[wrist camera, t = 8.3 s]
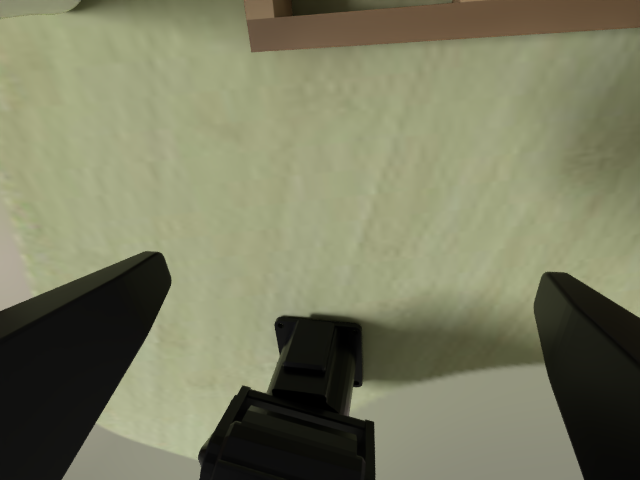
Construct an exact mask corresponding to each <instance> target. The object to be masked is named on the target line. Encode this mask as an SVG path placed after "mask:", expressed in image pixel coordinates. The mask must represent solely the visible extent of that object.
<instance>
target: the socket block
mask: <svg viewBox="0 0 640 480" xmlns="http://www.w3.org/2000/svg"><path fill="white" fill-rule="evenodd" d="M244 5H245V12H246V19H247V26H248V32H249V39H250V46H251V52H263V51H278V50H294V49H310V48H325V47H341V46H356V45H372V44H388V43H403V42H419V41H435V40H450V39H466V38H482V37H497V36H513V35H528V34H544V33H560V32H575V31H591V30H607V29H622V28H638V27H640V0H452V3H447V4H434V5H422V6H410V7H398V8H386V9H374V10H362V11H349V12H337V13H325V14H313V15H301V16H293V12H292V1H291V0H244Z"/></svg>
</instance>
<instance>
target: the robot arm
mask: <svg viewBox="0 0 640 480" xmlns="http://www.w3.org/2000/svg"><path fill="white" fill-rule="evenodd" d="M170 286H171V275H170V272H169V270H168V267H167V264H166V261H165V258H164V256H163V254H162V253H160V252H151V251H145V252H142V253H140V254H137V255H135V256H132V257H130V258H128V259H125V260H123V261H120V262H118V263H116V264H113V265H111V266H108V267H106V268H103V269H101V270H99V271H96V272H94V273H91V274H89V275H87V276H84V277H82V278H79V279H77V280H74V281H72V282H70V283H67V284H65V285H62V286H60V287H58V288H55V289H53V290H50V291H48V292H45V293H43V294H41V295H38V296H36V297H33V298H31V299H29V300H26V301H24V302H21V303H19V304H16V305H14V306H12V307H10V308H7V309H4V310H2V311H0V480H62V478H63V476H64V475H65V473H66V472H67V470H68V468H69V467H70V465H71V463H72V462H73V460H74V458H75V457H76V455H77V453H78V451H79V450H80V448H81V446H82V445H83V443H84V441H85V440H86V438H87V436H88V435H89V433H90V431H91V430H92V428H93V426H94V425H95V423H96V421H97V420H98V418H99V416H100V415H101V413H102V411H103V410H104V408H105V406H106V405H107V403H108V401H109V400H110V398H111V396H112V395H113V393H114V391H115V390H116V388H117V386H118V385H119V383H120V381H121V379H122V378H123V376H124V374H125V373H126V371H127V369H128V368H129V366H130V364H131V363H132V361H133V359H134V358H135V356H136V354H137V353H138V351H139V349H140V348H141V346H142V344H143V343H144V341H145V339H146V337H147V335H148V333H149V331H150V329H151V327H152V325H153V323H154V321H155V319H156V317H157V315H158V312H159V310H160V308H161V306H162V304H163V302H164V300H165V297H166V295H167V293H168V291H169V289H170ZM534 315H535V319H536V324H537V328H538V333H539V338H540V342H541V347H542V352H543V356H544V361H545V365H546V369H547V373H548V377H549V380H550V383H551V387H552V390H553V392H554V395H555V398H556V401H557V404H558V407H559V409H560V412H561V415H562V418H563V421H564V424H565V427H566V429H567V432H568V435H569V438H570V441H571V443H572V446H573V449H574V452H575V455H576V458H577V461H578V463H579V466H580V469H581V472H582V475H583V478H584V480H640V318H639V317H637V316H636V315H634V314H633V313H631V312H629V311H628V310H626V309H624V308H623V307H621V306H620V305H618V304H616V303H615V302H613V301H612V300H610V299H608V298H607V297H605V296H603V295H602V294H600V293H599V292H597V291H595V290H594V289H592V288H590V287H589V286H587V285H586V284H584V283H582V282H581V281H579V280H578V279H576V278H574V277H573V276H571V275H569V274H568V273H564V272H545V273H544V274H543V275H542V277H541V280H540V283H539V287H538V290H537V294H536V297H535V301H534ZM280 323H281V324H280ZM282 324H283V325H282ZM353 330H357V331H353ZM275 331H276V337H277V342H278V348H279V353H280V357H279V360H278V363H277V365H276V368H275V371H274V374H273V376H272V379H271V382H270V385H269V388H268V390H267V393H263V392H259V391H256V390H252V389H251V388H250V387H247V386H242V387H241V389H240V391H239V393H238V394H237V395H235V396H234V398H233V399H232V400H231V402H230V405H229V406H228V408H227V410H226V412H225V413H224V415H223V417H222V419H221V420H220V422H219V424H218V426H217V427H216V429H215V431H214V432H213V434H212V435H211V436H210V438H209V439H208V440H207V441H206V443H205V444H204V445H203V446H202V448H201V450H200V452H199V455H198V460H199V463H200V465H201V472H200V479H199V480H375V441H374V422H373V421H369V420H365V421H364V420H360V419H356V418H353V417H349V412H350V404H351V397H352V390H353V387H361V386H362V383H363V358H362V327H361V326H360V325H359V324H356V323H345V322H334V321H322V320H310V319H298V318H286V317H279V318H277V319H276V321H275Z"/></svg>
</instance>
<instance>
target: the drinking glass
mask: <svg viewBox="0 0 640 480" xmlns="http://www.w3.org/2000/svg"><path fill="white" fill-rule="evenodd" d="M80 1H81V0H0V19H3V18H11V17H19V16H27V15H55V14H61V13H65V12H68V11H70V10H71V9H73V8H74V7H76V6H77V5H78V4H79V3H80Z"/></svg>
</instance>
